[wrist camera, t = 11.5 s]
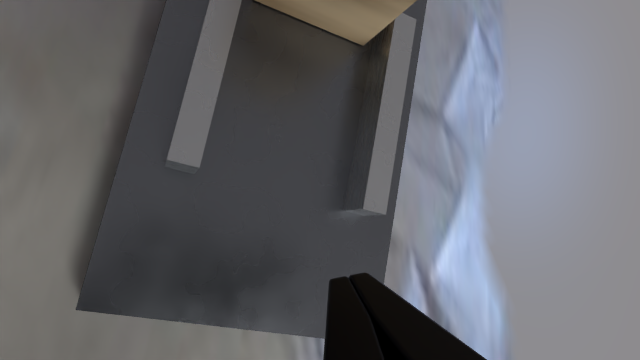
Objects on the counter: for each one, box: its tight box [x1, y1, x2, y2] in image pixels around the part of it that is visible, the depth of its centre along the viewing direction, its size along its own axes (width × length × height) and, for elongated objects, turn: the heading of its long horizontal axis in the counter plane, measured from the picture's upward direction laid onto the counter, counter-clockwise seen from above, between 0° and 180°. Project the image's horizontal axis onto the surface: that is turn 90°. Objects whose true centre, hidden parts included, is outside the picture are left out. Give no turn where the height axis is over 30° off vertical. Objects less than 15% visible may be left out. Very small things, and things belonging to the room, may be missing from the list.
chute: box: [76, 0, 427, 339], centre depth 19 cm, size 22×13×4 cm, turn 168°
